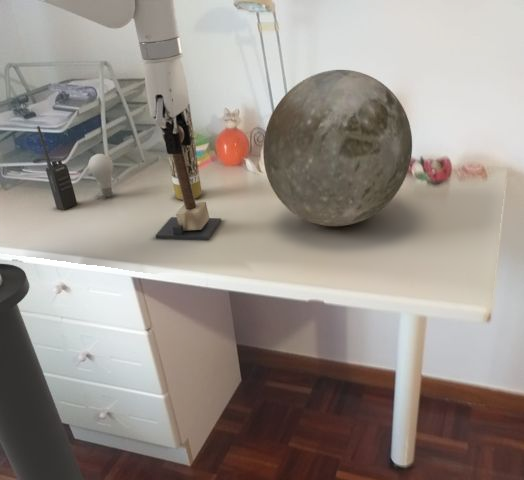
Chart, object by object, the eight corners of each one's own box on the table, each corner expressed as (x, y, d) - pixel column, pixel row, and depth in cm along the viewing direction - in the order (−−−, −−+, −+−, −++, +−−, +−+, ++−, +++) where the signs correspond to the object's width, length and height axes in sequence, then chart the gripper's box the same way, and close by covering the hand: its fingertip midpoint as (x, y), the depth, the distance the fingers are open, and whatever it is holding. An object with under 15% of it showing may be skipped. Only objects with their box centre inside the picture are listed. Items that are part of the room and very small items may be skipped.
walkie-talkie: (64, 210, 142) (40, 128, 130) (55, 208, 144) (31, 126, 132) (79, 204, 145) (57, 122, 134) (70, 202, 147) (48, 121, 135)
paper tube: (170, 200, 143) (151, 93, 128) (184, 190, 148) (168, 86, 133) (193, 202, 140) (177, 94, 126) (207, 192, 145) (192, 87, 131)
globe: (291, 192, 141) (285, 58, 124) (415, 199, 131) (427, 55, 114) (248, 244, 118) (233, 89, 101) (394, 256, 109) (405, 88, 92)
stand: (221, 221, 129) (219, 211, 128) (207, 240, 121) (206, 229, 120) (171, 220, 132) (170, 210, 131) (155, 238, 124) (153, 227, 123)
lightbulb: (118, 199, 146) (108, 156, 139) (94, 202, 146) (83, 159, 139) (121, 191, 151) (112, 149, 144) (98, 193, 151) (88, 151, 144)
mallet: (189, 220, 129) (209, 218, 127) (180, 231, 124) (201, 229, 123) (164, 120, 117) (187, 117, 115) (153, 128, 112) (176, 125, 110)
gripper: (159, 43, 113) (177, 137, 124) (123, 60, 100) (147, 163, 111) (194, 40, 111) (209, 136, 122) (163, 57, 98) (182, 162, 109)
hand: (179, 148), depth 116 cm, fingers closed on mallet, 4 cm apart
